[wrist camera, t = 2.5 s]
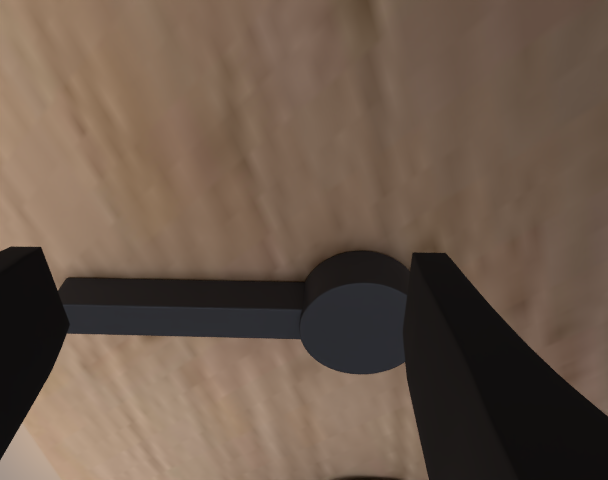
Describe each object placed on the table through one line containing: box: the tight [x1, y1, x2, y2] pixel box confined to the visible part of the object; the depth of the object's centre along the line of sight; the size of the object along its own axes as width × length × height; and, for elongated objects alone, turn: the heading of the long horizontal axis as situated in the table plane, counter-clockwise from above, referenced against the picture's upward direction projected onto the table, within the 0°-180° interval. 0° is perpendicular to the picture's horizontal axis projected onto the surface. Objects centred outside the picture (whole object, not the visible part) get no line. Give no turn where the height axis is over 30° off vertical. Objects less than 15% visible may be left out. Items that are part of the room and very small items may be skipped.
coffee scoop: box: [58, 251, 410, 374], centre depth 20 cm, size 15×5×2 cm, turn 90°
